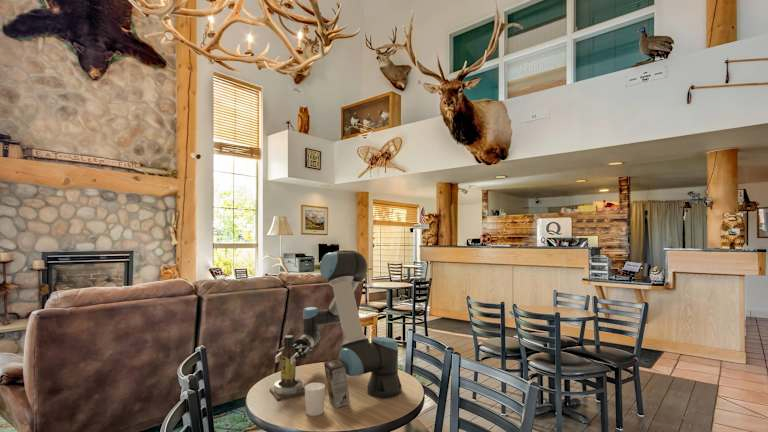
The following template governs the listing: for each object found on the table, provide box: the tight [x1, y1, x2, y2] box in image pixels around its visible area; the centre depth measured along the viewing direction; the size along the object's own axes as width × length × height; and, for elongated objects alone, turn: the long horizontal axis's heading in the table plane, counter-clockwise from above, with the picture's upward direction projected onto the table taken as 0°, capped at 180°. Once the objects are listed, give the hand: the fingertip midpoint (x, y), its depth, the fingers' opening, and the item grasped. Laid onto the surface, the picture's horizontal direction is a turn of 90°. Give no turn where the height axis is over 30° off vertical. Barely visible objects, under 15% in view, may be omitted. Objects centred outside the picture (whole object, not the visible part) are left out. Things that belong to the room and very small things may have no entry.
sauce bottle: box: [280, 334, 297, 384], centre depth 180 cm, size 6×6×20 cm
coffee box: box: [323, 358, 351, 409], centre depth 169 cm, size 9×6×16 cm
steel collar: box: [273, 377, 303, 395], centre depth 179 cm, size 12×12×3 cm
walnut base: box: [269, 386, 305, 402], centre depth 179 cm, size 13×13×1 cm
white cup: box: [304, 382, 326, 417], centre depth 160 cm, size 8×8×10 cm
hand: (283, 360), depth 175 cm, fingers closed on sauce bottle, 6 cm apart
